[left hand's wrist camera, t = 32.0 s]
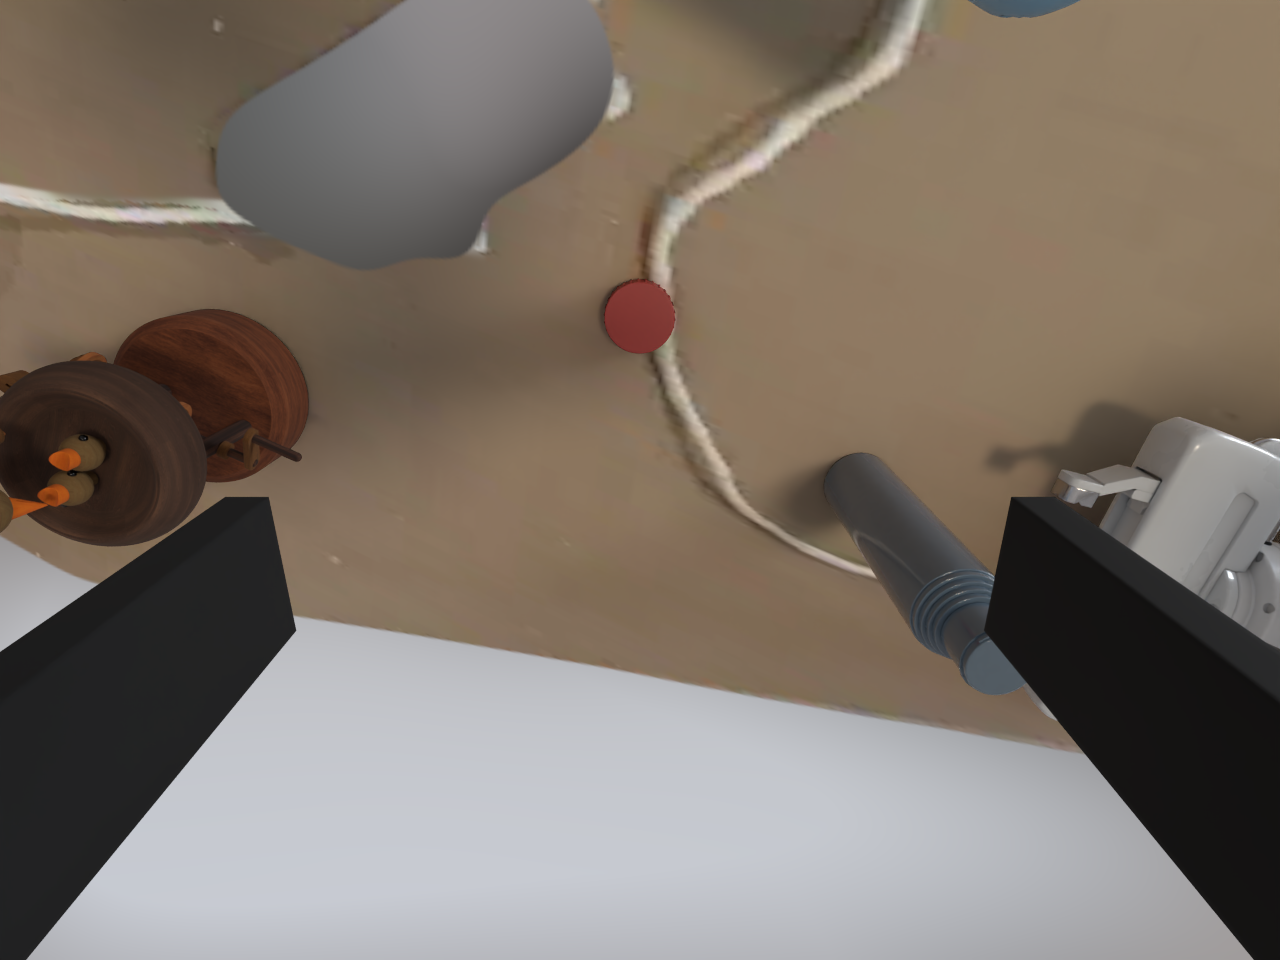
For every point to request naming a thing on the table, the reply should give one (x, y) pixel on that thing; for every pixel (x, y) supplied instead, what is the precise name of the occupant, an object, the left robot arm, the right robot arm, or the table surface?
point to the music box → (147, 427)
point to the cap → (639, 316)
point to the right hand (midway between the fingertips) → (1025, 553)
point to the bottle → (921, 569)
